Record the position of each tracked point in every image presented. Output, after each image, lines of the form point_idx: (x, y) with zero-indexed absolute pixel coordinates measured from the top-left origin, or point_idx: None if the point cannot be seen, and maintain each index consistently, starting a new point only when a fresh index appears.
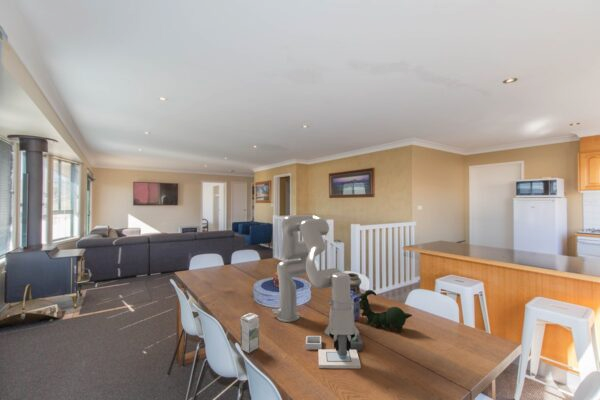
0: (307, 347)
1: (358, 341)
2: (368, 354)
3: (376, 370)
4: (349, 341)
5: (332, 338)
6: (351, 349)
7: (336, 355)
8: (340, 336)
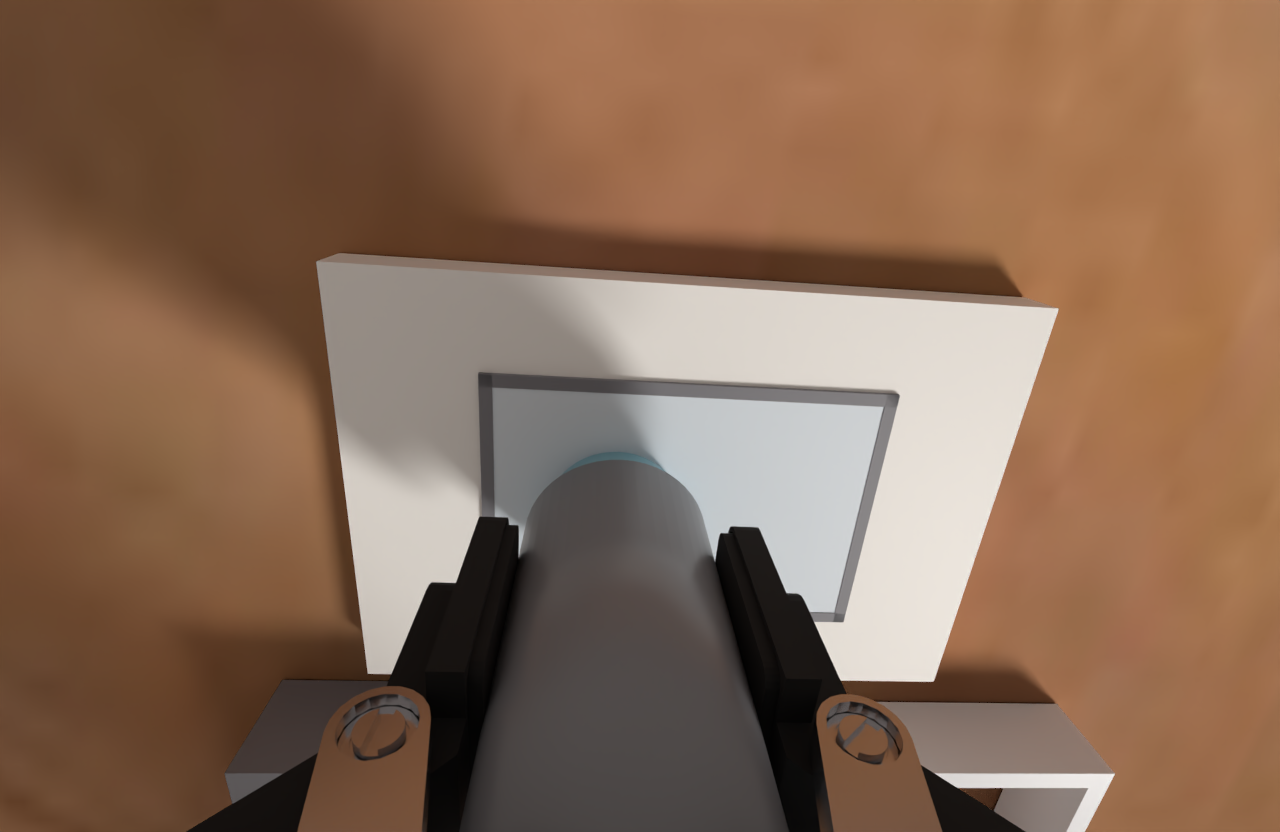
0: (1053, 725)
1: None
2: (199, 596)
3: (54, 179)
4: (415, 697)
5: (929, 779)
6: None
7: None
8: (719, 829)
